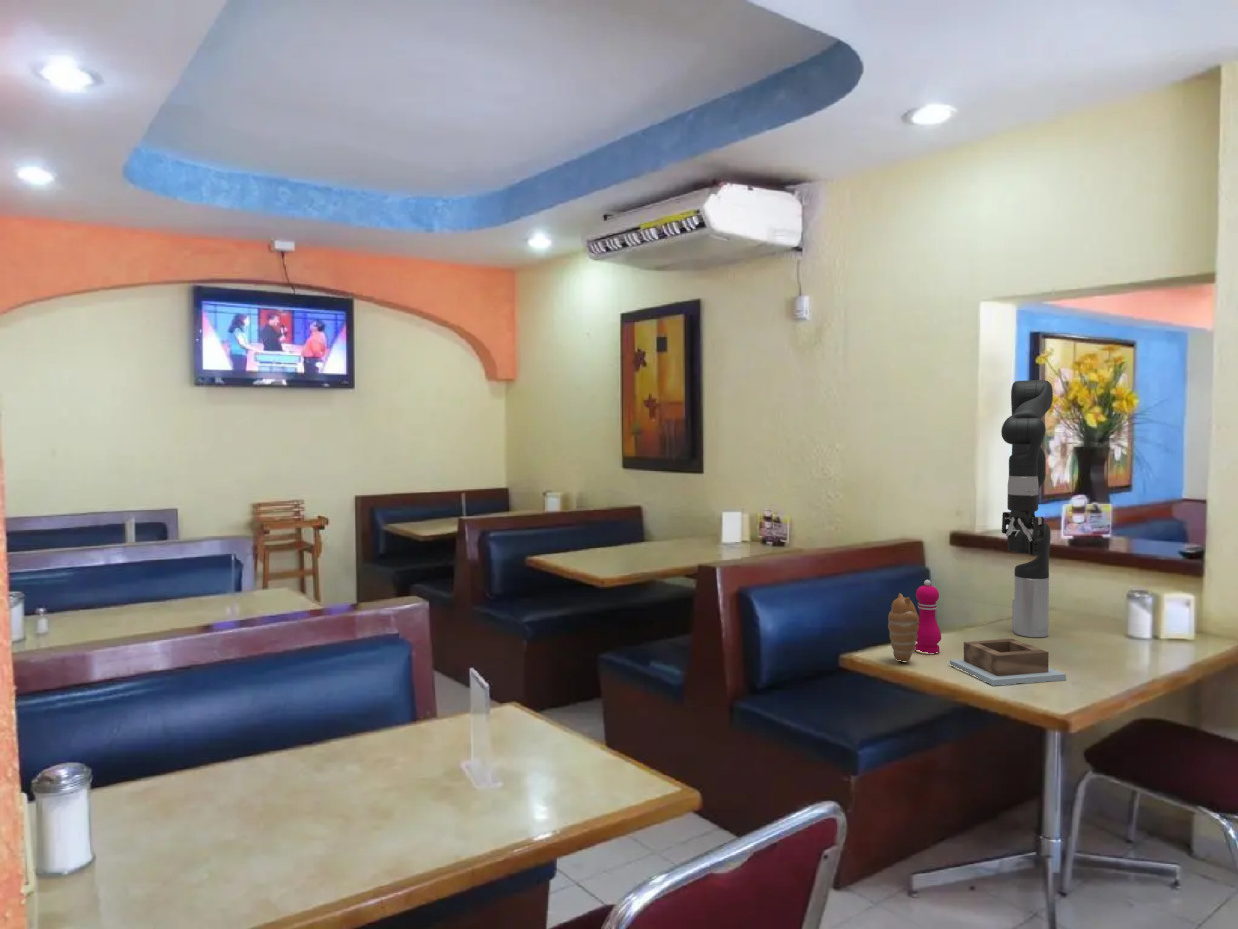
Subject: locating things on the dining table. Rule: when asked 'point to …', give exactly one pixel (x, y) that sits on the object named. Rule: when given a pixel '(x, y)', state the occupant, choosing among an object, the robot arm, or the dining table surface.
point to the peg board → (1010, 679)
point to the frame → (1006, 657)
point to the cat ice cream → (903, 627)
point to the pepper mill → (927, 619)
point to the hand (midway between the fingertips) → (1022, 552)
